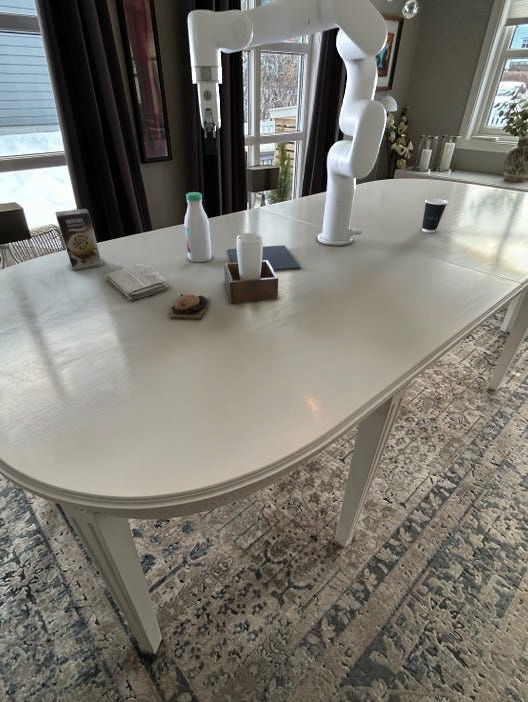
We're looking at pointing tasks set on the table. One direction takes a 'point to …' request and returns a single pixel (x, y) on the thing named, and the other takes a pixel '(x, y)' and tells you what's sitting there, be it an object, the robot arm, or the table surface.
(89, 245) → the cookie box
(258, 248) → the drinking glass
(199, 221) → the milk bottle
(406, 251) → the table surface
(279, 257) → the mat
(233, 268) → the box
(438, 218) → the dixie cup
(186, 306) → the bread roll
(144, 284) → the washcloth
